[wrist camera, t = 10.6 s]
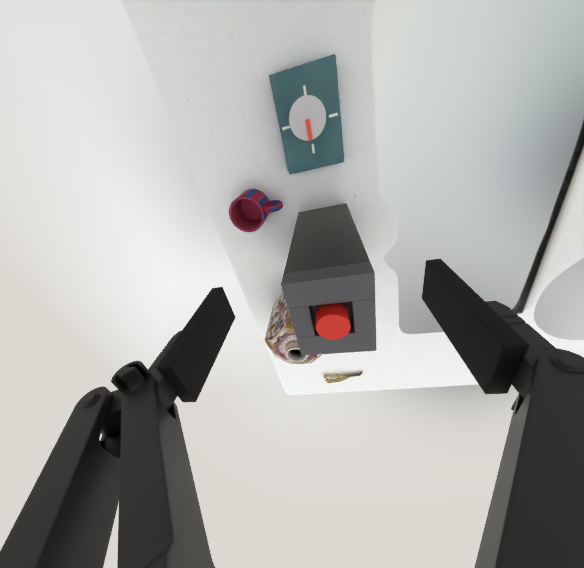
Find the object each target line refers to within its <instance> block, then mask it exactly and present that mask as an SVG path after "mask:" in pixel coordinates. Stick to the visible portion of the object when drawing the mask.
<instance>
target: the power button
mask: <svg viewBox="0 0 584 568" xmlns="http://www.w3.org/2000/svg"><path fill="white" fill-rule="evenodd" d="M350 328H351V326H350V320H349V314H348V310H347V308H346V307H345V306H344V305H342V304H340V303H332V304H323V305H321V306H320V307H319V308H318V309H317V311H316V331H317V332H318V334H319V335H320V336H322V337H324V338H326V339H331V340H335V339H340V338H343V337H344V336H346V335H347V334H348V333H349V331H350Z"/></svg>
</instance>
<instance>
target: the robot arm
mask: <svg viewBox="0 0 584 568" xmlns="http://www.w3.org/2000/svg"><path fill="white" fill-rule="evenodd" d="M422 299H423V301H424V302H425V303H426V305H427V307H428V308H429V310H430V311H431V313H432V314H433V316H434V317H435V319H436V320H437V322H438V323H439V324H440V326H441V328H442V329H443V331H444V332H445V334H446V335H447V337H448V338H449V340H450V341H451V343H452V344H453V346H454V347H455V349H456V350H457V352H458V353H459V355H460V356H461V358H462V359H463V361H464V362H465V364H466V365H467V367H468V368H469V370H470V371H471V373H472V374H473V376H474V377H475V379H476V381H477V382H478V384H479V385H480V387H481V388H482V389H483V391H484V393H485V394H501V393H508V391H509V388H510V386H511V384H512V385H513V386H514V387H515V389H516V390H517V391H518V392H519V395H518V397H517V399H516V400H515V402H514V404H513V406H512V408H511V409H512V410H514V411H513V416H512V419H511V423H510V427H509V431H508V435H507V440H506V443H505V447H504V451H503V456H502V459H501V463H500V467H499V471H498V475H497V479H496V483H495V488H494V492H493V496H492V500H491V504H490V508H489V512H488V516H487V520H486V524H485V528H484V532H483V536H482V540H481V544H480V548H479V552H478V556H477V560H476V564H475V568H584V358H583V357H582V356H580V355H577V354H575V353H572V352H570V351H566V350H561V349H556V348H555V347H554V346H553V345H551V344H550V343H549V342H548V341H547V340H546V339H545V338H543V337H542V336H541V335H540V334H539V333H538V332H537V331H535V330H534V329H533V328H532V327H531V326H530V325H528V324H526V323H525V321H524V320H523V319H522V318H520V317H518V315H517V314H516V313H515V312H514V311H512V310H511V309H510V308H509V307H507V306H505V305H503V304H501V303H499V302H497V301H489V302H485V301H483V299H482V298H480V296H479V295H478V294H476V293H475V292H474V291H473V290H472V289H471V288H470V287H469V286H468V285H467V284H466V283H465V282H464V281H463V280H462V279H461V278H460V277H459V276H458V275H457V274H456V273H454V271H452V270H451V269H450V268H449V267H448V266H447V265H446V264H445V263H444V262H443V261H442V260H441V259H435V260H427V261H426V267H425V276H424V284H423V293H422ZM234 319H235V315H234V313H233V311H232V308H231V306H230V304H229V301H228V299H227V297H226V295H225V292H224V290H223V288H222V287H219V288H212V290H211V291H210V292H209V294H208V295H207V297H206V298H205V299H204V301H203V302H202V304H201V305H200V307H199V308H198V309H197V311H196V312H195V313H194V315H193V316H192V318H191V319H190V320H189V322H188V323H187V325H186V326H185V327H184V329H183V330H182V331H179V332H178V333H177V334H176V335H174V336H173V337H172V338H171V340H170V341H169V342H168V344H167V346H165V348H164V349H163V352H161V353H160V354H159V356H158V357H157V358H156V360H155V361H154V363H153V364H152V365H151V367H150V368H149V369H148V370H147V368H146V367H145V366H144V365H143V363H142V362H140V361H134V362H131V363H129V364H127V365H125V366H124V367H122V368H121V369H119V370H118V371H117V372H116V373H115V375H114V376H113V377H112V380H111V382H112V383H113V384H114V385H115V386H116V387H117V388H118V389H119V390H116V391H113V392H110V391H109V390H108V389H107V388H106V387H99V388H96V389H94V390H92V391H90V392H89V393H87V394H86V395H84V397H82V398H81V399H80V401H79V402H78V403H77V405H76V406H75V408H74V410H73V412H72V414H71V416H70V418H69V419H68V421H67V423H66V426H65V427H64V429H63V431H62V433H61V435H60V437H59V439H58V441H57V443H56V445H55V447H54V449H53V450H52V452H51V454H50V456H49V459H48V461H47V462H46V464H45V466H44V468H43V470H42V472H41V474H40V476H39V478H38V479H37V481H36V484H35V486H34V487H33V489H32V491H31V493H30V495H29V497H28V499H27V501H26V503H25V505H24V507H23V509H22V511H21V513H20V514H19V516H18V518H17V520H16V522H15V524H14V526H13V528H12V530H11V532H10V534H9V536H8V538H7V540H6V541H5V544H4V545H3V547H2V549H1V551H0V568H103V565H104V561H105V557H106V552H107V548H108V544H109V539H110V535H111V531H112V527H113V522H114V519H115V514H116V510H117V506H118V502H119V531H118V568H215V567H214V564H213V562H212V558H211V554H210V550H209V546H208V541H207V537H206V532H205V528H204V524H203V519H202V515H201V511H200V506H199V502H198V497H197V493H196V489H195V484H194V480H193V475H192V471H191V467H190V462H189V458H188V454H187V449H186V445H185V440H184V436H183V432H182V428H181V423H180V419H179V414H178V410H177V406H176V404H175V403H174V401H175V399H176V397H177V396H178V397H179V398H180V399H181V401H182V402H196V400H197V398H198V396H199V394H200V392H201V389H202V387H203V385H204V383H205V381H206V379H207V377H208V375H209V372H210V370H211V368H212V366H213V364H214V362H215V360H216V357H217V355H218V353H219V351H220V349H221V347H222V345H223V342H224V340H225V338H226V336H227V334H228V332H229V330H230V327H231V325H232V323H233V321H234ZM100 433H101V434H102V438H101V440H100V441H99V436H100Z"/></svg>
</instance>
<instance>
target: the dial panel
mask: <svg viewBox="0 0 584 568" xmlns="http://www.w3.org/2000/svg"><path fill="white" fill-rule="evenodd" d="M269 77H270V82H271V87H272V92H273V97H274V102H275V106H276V111H277V116H278V121H279V126H280V131H281V136H282V141H283V146H284V151H285V156H286V161H287V166H288V171H289V174H292V173H297V172H301V171H306V170H310V169H315V168H319V167H323V166H328V165H332V164H337V163H341V162H344V154H343V142H342V129H341V117H340V105H339V93H338V81H337V68H336V56H335V54H334V55H331V56H328V57H325V58H322V59H319V60H316V61H312V62H309V63H306V64H303V65H300V66H297V67H294V68H291V69H287V70H284V71H281V72H278V73H275V74H272V75H269ZM304 95H312V96H315V97H317V98H318V99H319V100H320V101H321V102H322V103H323V105H324V107H325V111H326V123H325V126H324V129H323V131H322V132H321V134H320V135H319V136H318V137H316V138H315V139H313V140H309V141H304V140H301V139H299V138H297V137H296V136H295V135H294V133H293V132H292V130H291V127H290V123H289V114H290V110H291V107H292V105H293V104H294V102H295V101H296V100H297V99H298V98H300V97H302V96H304Z"/></svg>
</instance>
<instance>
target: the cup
mask: <svg viewBox="0 0 584 568" xmlns="http://www.w3.org/2000/svg"><path fill="white" fill-rule="evenodd" d="M282 207H283V204H282V201H279V200H276V201H269V200H268V198H267V197H266V195H265V194H264V193H262V192H261V191H259V190H255V189H251V190H247V191H246V192H244V193H243V194H242V195H240V196H239V197H238V198H236V199H235V200H234V201H233V202H232V204H231V206H230V209H229V215H230V219H231V221H232V222H233V224H234V225H235V226H236V227H237V228H238V229H240V230H242V231H245V232H253V231H256V230H258V229H259V228H260V227H261V226H262V224H263V222H264V221H265V219H266V218H267V216H268V214H269V213H270V212H275V211H278V210H280V209H281V208H282Z"/></svg>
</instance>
